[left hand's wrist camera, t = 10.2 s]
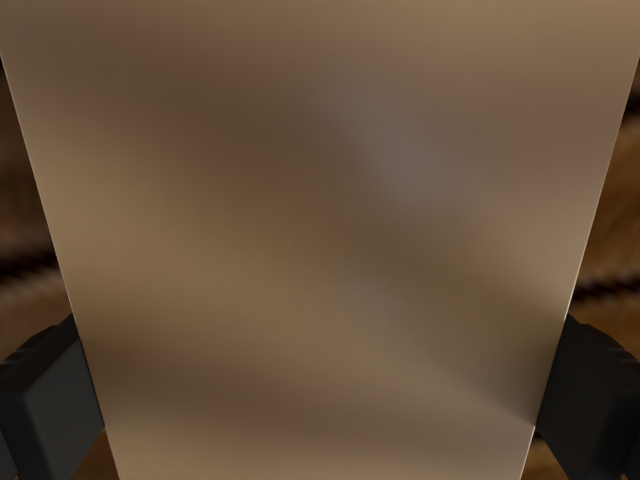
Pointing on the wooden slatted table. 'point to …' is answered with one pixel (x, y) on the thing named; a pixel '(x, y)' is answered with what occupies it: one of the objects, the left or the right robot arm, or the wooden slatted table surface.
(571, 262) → the cabinet
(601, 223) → the wooden slatted table surface
